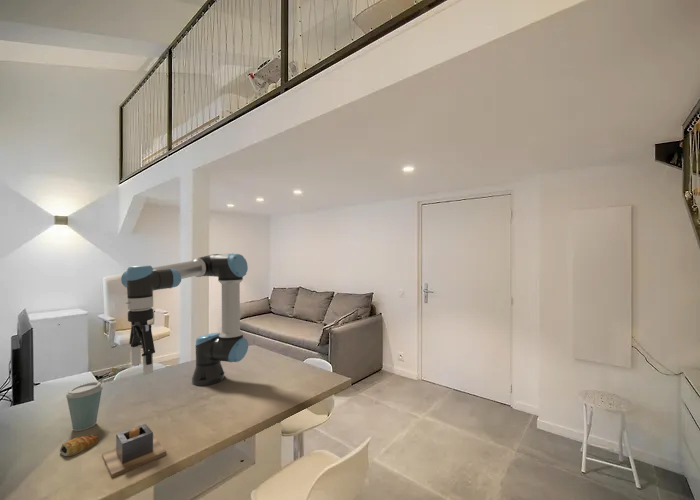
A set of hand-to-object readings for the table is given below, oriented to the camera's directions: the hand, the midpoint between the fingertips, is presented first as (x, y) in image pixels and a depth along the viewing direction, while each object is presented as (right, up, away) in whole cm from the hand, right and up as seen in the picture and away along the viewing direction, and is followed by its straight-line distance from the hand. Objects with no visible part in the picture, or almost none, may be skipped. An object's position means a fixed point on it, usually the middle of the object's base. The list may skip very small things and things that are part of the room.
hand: (142, 368), depth 110 cm
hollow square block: (+6, -22, -12) cm, 26 cm away
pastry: (-16, -24, -8) cm, 30 cm away
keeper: (+6, -23, -12) cm, 26 cm away
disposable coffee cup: (-25, -24, +6) cm, 35 cm away
